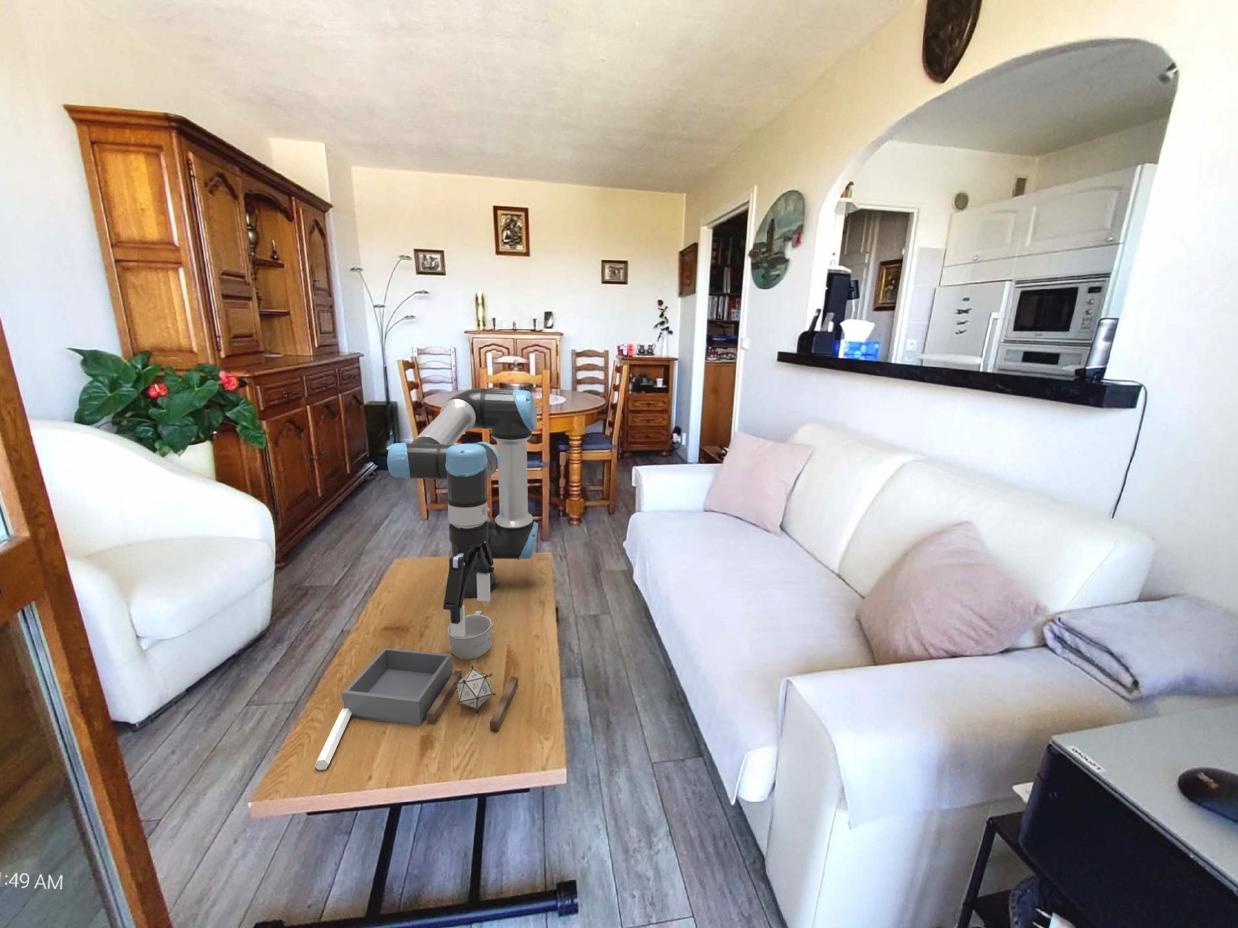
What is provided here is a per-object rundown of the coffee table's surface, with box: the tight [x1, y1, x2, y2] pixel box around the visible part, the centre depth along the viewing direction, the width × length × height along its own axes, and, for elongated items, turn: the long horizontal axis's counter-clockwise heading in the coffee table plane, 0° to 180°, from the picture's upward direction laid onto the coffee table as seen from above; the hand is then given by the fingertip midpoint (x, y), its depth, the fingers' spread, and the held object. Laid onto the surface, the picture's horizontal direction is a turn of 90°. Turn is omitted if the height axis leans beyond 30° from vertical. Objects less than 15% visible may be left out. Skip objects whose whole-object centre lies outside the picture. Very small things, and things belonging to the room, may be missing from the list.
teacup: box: [446, 610, 493, 660], centre depth 126 cm, size 14×11×8 cm
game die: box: [453, 664, 497, 714], centre depth 107 cm, size 9×8×10 cm
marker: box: [314, 707, 352, 771], centre depth 98 cm, size 3×2×16 cm
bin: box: [341, 647, 454, 727], centre depth 109 cm, size 16×17×6 cm
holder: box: [426, 669, 519, 733], centre depth 108 cm, size 14×15×2 cm
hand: (471, 616), depth 103 cm, fingers open, 13 cm apart
